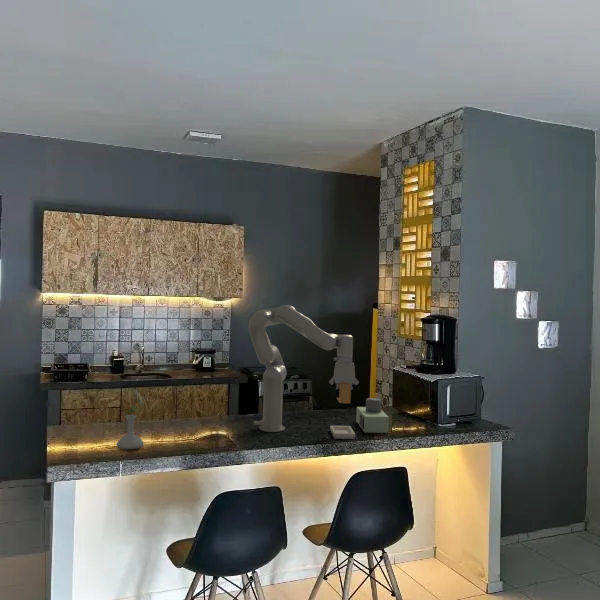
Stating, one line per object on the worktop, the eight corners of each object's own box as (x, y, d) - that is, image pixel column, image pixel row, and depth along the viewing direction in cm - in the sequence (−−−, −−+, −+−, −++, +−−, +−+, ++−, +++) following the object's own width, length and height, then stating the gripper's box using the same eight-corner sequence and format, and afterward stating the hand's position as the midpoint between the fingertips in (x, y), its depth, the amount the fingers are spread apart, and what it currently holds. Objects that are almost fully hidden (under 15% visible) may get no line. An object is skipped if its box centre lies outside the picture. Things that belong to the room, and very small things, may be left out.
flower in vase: (134, 452, 253) (136, 393, 252) (110, 449, 256) (112, 391, 255) (150, 445, 265) (152, 388, 265) (127, 442, 268) (129, 386, 268)
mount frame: (334, 438, 287) (334, 433, 287) (329, 430, 303) (330, 425, 303) (355, 438, 288) (355, 433, 288) (349, 430, 304) (349, 425, 303)
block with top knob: (363, 432, 301) (364, 404, 301) (355, 421, 325) (356, 395, 325) (388, 432, 302) (389, 404, 302) (378, 421, 326) (379, 396, 326)
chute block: (340, 403, 289) (340, 384, 289) (336, 398, 300) (337, 380, 300) (350, 403, 289) (350, 384, 289) (346, 398, 300) (347, 380, 300)
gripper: (328, 360, 290) (327, 398, 290) (363, 361, 291) (362, 399, 292) (326, 358, 297) (325, 395, 298) (360, 359, 299) (359, 396, 299)
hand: (343, 396), depth 295 cm, fingers closed on chute block, 5 cm apart
